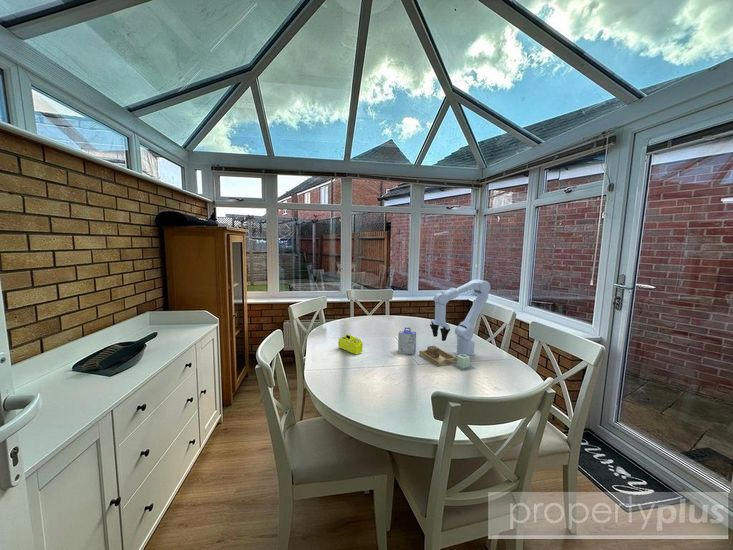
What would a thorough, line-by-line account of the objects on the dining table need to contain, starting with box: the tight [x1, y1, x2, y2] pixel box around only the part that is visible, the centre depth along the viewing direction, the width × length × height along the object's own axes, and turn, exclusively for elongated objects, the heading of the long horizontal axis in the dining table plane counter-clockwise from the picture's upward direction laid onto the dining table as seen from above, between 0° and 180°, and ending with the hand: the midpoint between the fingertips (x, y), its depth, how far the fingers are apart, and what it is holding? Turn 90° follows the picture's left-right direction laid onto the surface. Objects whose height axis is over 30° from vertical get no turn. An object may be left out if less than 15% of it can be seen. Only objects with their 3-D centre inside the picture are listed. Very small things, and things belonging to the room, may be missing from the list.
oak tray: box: [418, 348, 457, 367], centre depth 164 cm, size 13×17×3 cm
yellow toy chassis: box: [338, 333, 363, 355], centre depth 177 cm, size 16×6×8 cm, turn 43°
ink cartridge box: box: [397, 327, 417, 355], centre depth 173 cm, size 10×6×14 cm, turn 76°
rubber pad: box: [449, 363, 477, 372], centre depth 154 cm, size 9×9×1 cm
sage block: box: [456, 354, 471, 369], centre depth 153 cm, size 4×4×6 cm
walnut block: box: [426, 345, 440, 358], centre depth 167 cm, size 4×5×5 cm
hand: (439, 338), depth 168 cm, fingers open, 7 cm apart
